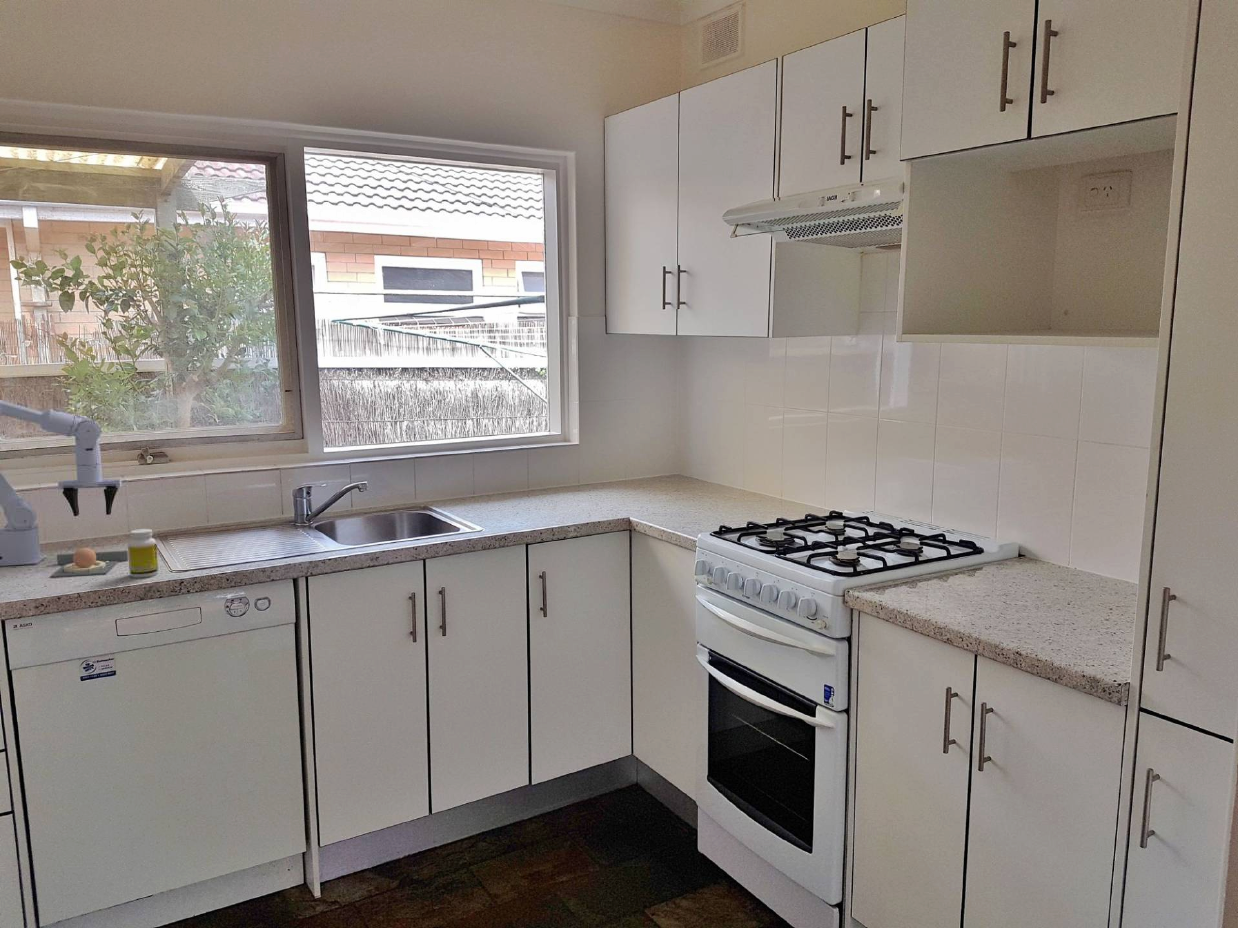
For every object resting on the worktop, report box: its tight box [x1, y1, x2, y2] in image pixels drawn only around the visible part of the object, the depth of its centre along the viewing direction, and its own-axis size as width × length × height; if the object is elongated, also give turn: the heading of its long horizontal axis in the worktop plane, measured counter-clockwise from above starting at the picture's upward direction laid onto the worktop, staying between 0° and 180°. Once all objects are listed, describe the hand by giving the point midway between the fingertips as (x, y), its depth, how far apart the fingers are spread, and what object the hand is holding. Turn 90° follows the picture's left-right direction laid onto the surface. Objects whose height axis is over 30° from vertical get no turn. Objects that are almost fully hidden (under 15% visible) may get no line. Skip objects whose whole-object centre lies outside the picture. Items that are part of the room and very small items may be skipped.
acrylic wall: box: [56, 549, 129, 566], centre depth 235 cm, size 16×1×2 cm, turn 107°
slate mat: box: [50, 561, 119, 579], centre depth 228 cm, size 12×12×1 cm
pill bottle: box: [127, 528, 159, 579], centre depth 223 cm, size 6×6×11 cm
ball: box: [73, 547, 96, 568], centre depth 227 cm, size 5×5×5 cm
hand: (92, 514), depth 243 cm, fingers open, 7 cm apart
